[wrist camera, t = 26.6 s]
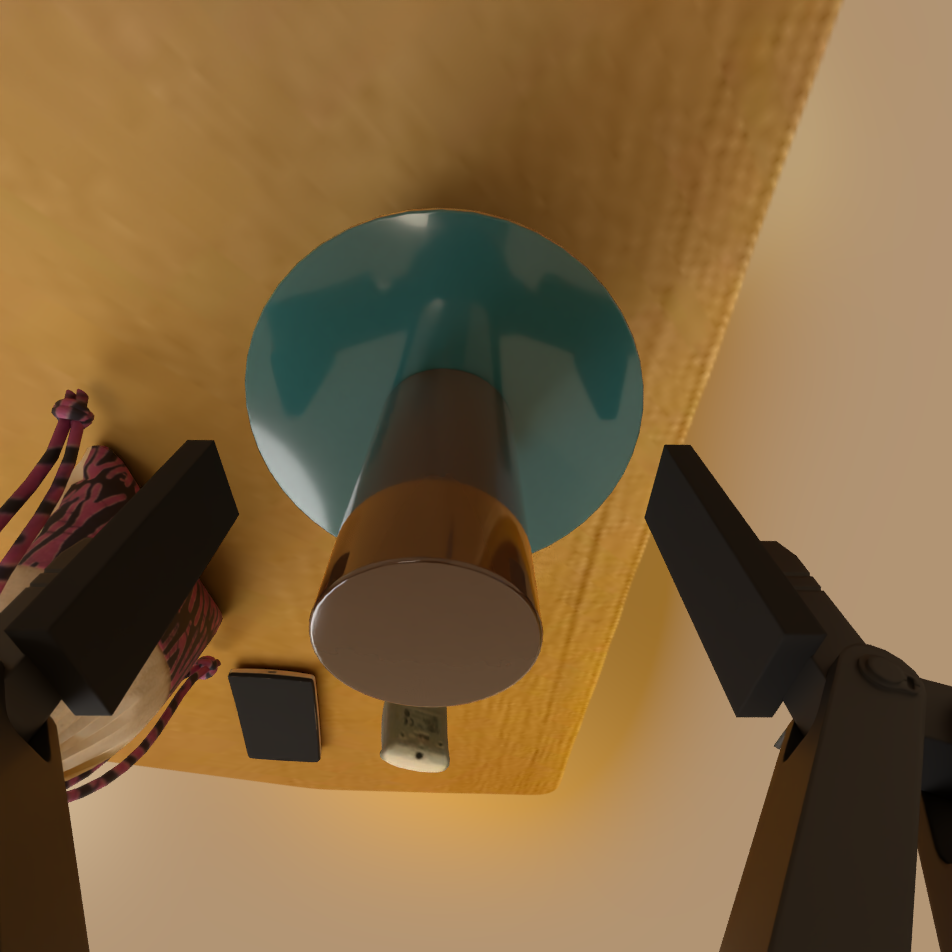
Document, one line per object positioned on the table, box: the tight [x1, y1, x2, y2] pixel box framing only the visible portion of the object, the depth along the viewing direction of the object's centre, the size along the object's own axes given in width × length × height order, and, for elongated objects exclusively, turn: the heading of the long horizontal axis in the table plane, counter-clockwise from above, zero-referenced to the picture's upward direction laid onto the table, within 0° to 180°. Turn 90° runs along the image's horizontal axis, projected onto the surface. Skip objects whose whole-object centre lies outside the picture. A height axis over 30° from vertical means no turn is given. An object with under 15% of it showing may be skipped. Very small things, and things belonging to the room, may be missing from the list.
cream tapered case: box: [380, 701, 450, 772], centre depth 41 cm, size 6×5×8 cm
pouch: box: [0, 389, 223, 803], centre depth 27 cm, size 25×8×19 cm, turn 8°
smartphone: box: [228, 669, 321, 762], centre depth 47 cm, size 7×1×15 cm
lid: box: [245, 207, 644, 707], centre depth 14 cm, size 14×14×10 cm
